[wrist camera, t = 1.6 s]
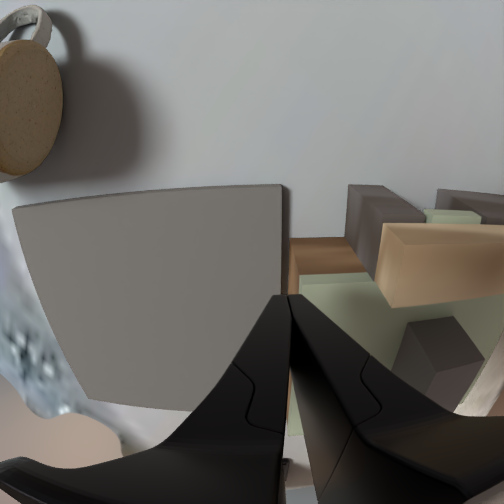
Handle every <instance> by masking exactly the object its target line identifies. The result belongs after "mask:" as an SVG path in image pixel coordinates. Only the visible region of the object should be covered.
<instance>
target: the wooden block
mask: <svg viewBox="0 0 504 504" xmlns="http://www.w3.org/2000/svg"><path fill="white" fill-rule="evenodd" d="M374 281H375V282H376V284H377V285H378V287H379V289H380V290H381V292H382V293H383V295H384V297H385V298H386V300H387V302H388V303H389V305H390V307H391V308H399V307H409V306H418V305H427V304H436V303H444V302H452V301H459V300H466V299H473V298H480V297H487V296H493V295H499V294H504V225H484V224H438V223H383V227H382V235H381V242H380V249H379V255H378V261H377V267H376V273H375V279H374Z"/></svg>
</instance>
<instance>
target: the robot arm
mask: <svg viewBox="0 0 504 504" xmlns="http://www.w3.org/2000/svg"><path fill="white" fill-rule="evenodd" d="M290 372H291V377H292V382H293V387H294V391H295V396H296V400H297V405H298V410H299V414H300V419H301V424H302V428H303V433H304V438H305V443H306V447H307V452H308V457H309V462H310V467H311V471H312V476H313V481H314V486H315V491H316V496H317V500H318V504H504V416H492V417H474V416H463V415H458V414H455V413H453V412H451V411H448V410H447V409H445V408H443V407H442V406H440V405H439V404H437V403H436V402H434V401H433V400H431V399H430V398H428V397H427V396H425V395H424V394H423V393H421V392H420V391H418V390H417V389H415V388H414V387H412V386H411V385H409V384H408V383H407V382H405V381H404V380H402V379H401V378H400V377H398V376H397V375H395V374H394V373H393V372H392V371H390V370H389V369H388V368H387V367H385V366H384V365H383V364H382V363H381V362H379V361H378V360H377V359H376V358H375V357H374V356H373V355H370V353H369V352H368V351H367V350H365V349H364V348H363V347H362V346H361V345H360V344H359V343H357V342H356V341H355V340H354V339H353V338H352V337H351V336H349V335H348V334H347V333H346V332H345V331H344V330H342V329H341V328H340V327H339V326H338V325H337V324H336V323H334V322H333V321H332V320H331V319H330V318H329V317H328V316H326V315H325V314H324V313H323V312H322V311H321V310H319V309H318V308H317V307H316V306H315V305H314V304H313V303H311V302H310V301H309V300H308V299H307V298H306V297H305V296H303V295H302V294H289V295H288V296H286V295H285V294H282V295H272V296H271V298H270V300H269V301H268V303H267V305H266V306H265V308H264V310H263V311H262V313H261V315H260V316H259V318H258V320H257V321H256V323H255V324H254V326H253V328H252V329H251V331H250V333H249V334H248V336H247V337H246V339H245V341H244V342H243V344H242V346H241V347H240V349H239V350H238V352H237V354H236V355H235V357H234V358H233V360H232V362H231V364H229V366H228V368H227V369H226V371H225V372H224V374H223V375H222V377H221V378H220V380H219V381H218V382H217V384H216V385H215V387H214V388H213V389H212V390H211V391H210V393H209V394H208V395H207V396H206V397H205V399H204V400H203V401H202V402H201V403H200V404H199V405H198V406H197V407H196V409H195V410H194V411H193V412H192V413H191V414H190V415H189V416H188V417H187V418H186V419H185V420H184V422H183V423H182V424H181V425H180V426H179V427H178V428H177V429H176V430H175V431H174V432H173V433H172V434H171V435H170V436H169V437H168V438H167V439H165V440H164V441H163V442H161V443H160V444H158V445H157V446H155V447H153V448H151V449H148V450H145V451H142V452H139V453H135V454H132V455H129V456H125V457H122V458H118V459H115V460H111V461H107V462H104V463H100V464H96V465H92V466H87V467H82V468H76V469H63V468H55V467H51V466H47V465H44V464H42V463H39V462H37V461H35V460H32V459H29V458H27V457H17V458H13V459H8V460H5V461H2V462H0V489H2V490H3V491H4V492H6V493H7V494H8V495H10V496H11V497H13V498H14V499H16V500H17V501H18V502H20V503H21V504H286V494H285V481H286V478H287V473H288V467H289V460H286V459H284V460H282V458H283V447H284V436H285V425H286V414H287V401H288V388H289V373H290Z"/></svg>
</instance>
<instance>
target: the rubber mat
mask: <svg viewBox="0 0 504 504" xmlns="http://www.w3.org/2000/svg"><path fill="white" fill-rule="evenodd" d="M12 214H13V218H14V222H15V226H16V230H17V233H18V237H19V241H20V244H21V247H22V251H23V254H24V257H25V260H26V263H27V267H28V270H29V272H30V275H31V278H32V281H33V284H34V287H35V289H36V292H37V295H38V297H39V300H40V302H41V305H42V307H43V310H44V312H45V314H46V317H47V319H48V321H49V324H50V326H51V328H52V330H53V333H54V335H55V337H56V339H57V341H58V343H59V345H60V347H61V349H62V351H63V353H64V355H65V357H66V359H67V361H68V363H69V365H70V367H71V369H72V371H73V373H74V374H75V376H76V378H77V380H78V382H79V383H80V385H81V387H82V389H83V390H84V392H85V394H86V395H87V397H88V399H93V400H98V401H104V402H110V403H116V404H123V405H130V406H138V407H146V408H155V409H166V410H178V411H194V410H195V409H196V407H197V406H198V405H199V404H200V403H201V402H202V401H203V400H204V399H205V397H206V396H207V395H208V394H209V393H210V391H211V390H212V389H213V388H214V387H215V385H216V384H217V382H218V381H219V380H220V378H221V377H222V375H223V374H224V372H225V371H226V369H227V368H228V366H229V364H231V362H232V360H233V358H234V357H235V355H236V354H237V352H238V350H239V349H240V347H241V346H242V344H243V342H244V341H245V339H246V337H247V336H248V334H249V333H250V331H251V329H252V328H253V326H254V324H255V323H256V321H257V320H258V318H259V316H260V315H261V313H262V311H263V310H264V308H265V306H266V305H267V303H268V301H269V300H270V298H271V296H272V295H281V231H282V187H281V184H263V185H231V186H208V187H190V188H175V189H161V190H148V191H137V192H126V193H116V194H106V195H97V196H88V197H80V198H72V199H64V200H57V201H50V202H43V203H36V204H30V205H24V206H18V207H15V208H14V209H12Z"/></svg>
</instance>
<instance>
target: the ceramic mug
mask: <svg viewBox="0 0 504 504" xmlns="http://www.w3.org/2000/svg"><path fill="white" fill-rule="evenodd" d="M30 23H37V25H36V28H35V31H34V33H33V35H32V37H31V39H30V40H13V41H7V42H3V43H1V41H2V40H3V39H4V38H5V37H6V36H7V35H8V34H9V33H10V32H11V31H13V30H14V29H16V28H18V27H19V26H22V25H26V24H30ZM51 32H52V21H51V19H50V17H49V16H48V15H47V13H46V12H45V11H44V10H43V9H42V8H41V7H39V6H37V5H28V6H24V7H21V8H19V9H16V10H14V11H13V12H11V13H10V14H8V15H6V16H5V17H4V18H2V19H1V20H0V183H2V182H6V181H10V180H13V179H15V178H18V177H21V176H24V175H26V174H28V173H30V172H31V171H33V170H35V169H36V168H37V167H38V166H39V165H40V164H41V163H42V162H43V161H44V159H45V158H46V157H47V155H48V154H49V152H50V150H51V148H52V146H53V145H54V142H55V139H56V136H57V133H58V130H59V127H60V123H61V116H62V109H63V91H62V81H61V76H60V73H59V69H58V67H57V64H56V62H55V60H54V58H53V57H52V55H51V54H50V53H49V52H48V50H47V49H46V47H47V45H48V43H49V41H50V39H51Z"/></svg>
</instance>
